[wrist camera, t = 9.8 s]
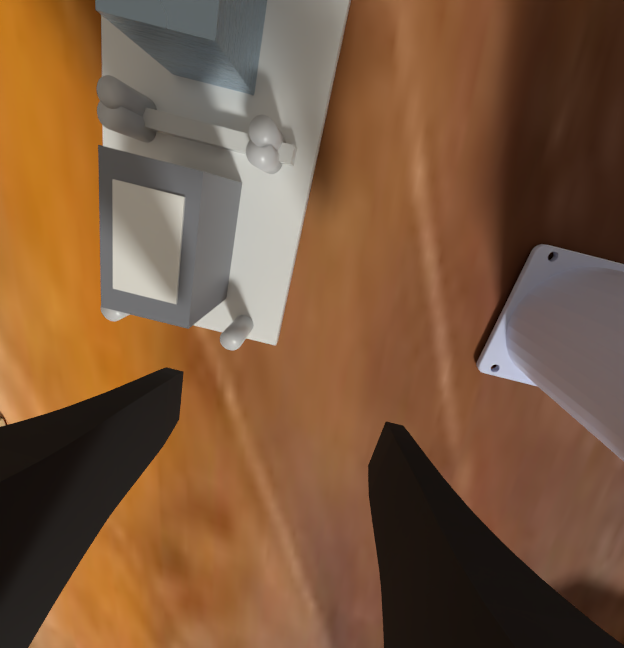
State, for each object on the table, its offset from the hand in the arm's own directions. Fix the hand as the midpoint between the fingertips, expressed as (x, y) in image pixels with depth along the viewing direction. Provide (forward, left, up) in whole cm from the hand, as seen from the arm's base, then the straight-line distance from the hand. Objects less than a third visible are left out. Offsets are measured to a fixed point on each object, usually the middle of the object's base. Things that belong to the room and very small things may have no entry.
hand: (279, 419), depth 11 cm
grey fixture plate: (+7, -9, -9) cm, 15 cm away
